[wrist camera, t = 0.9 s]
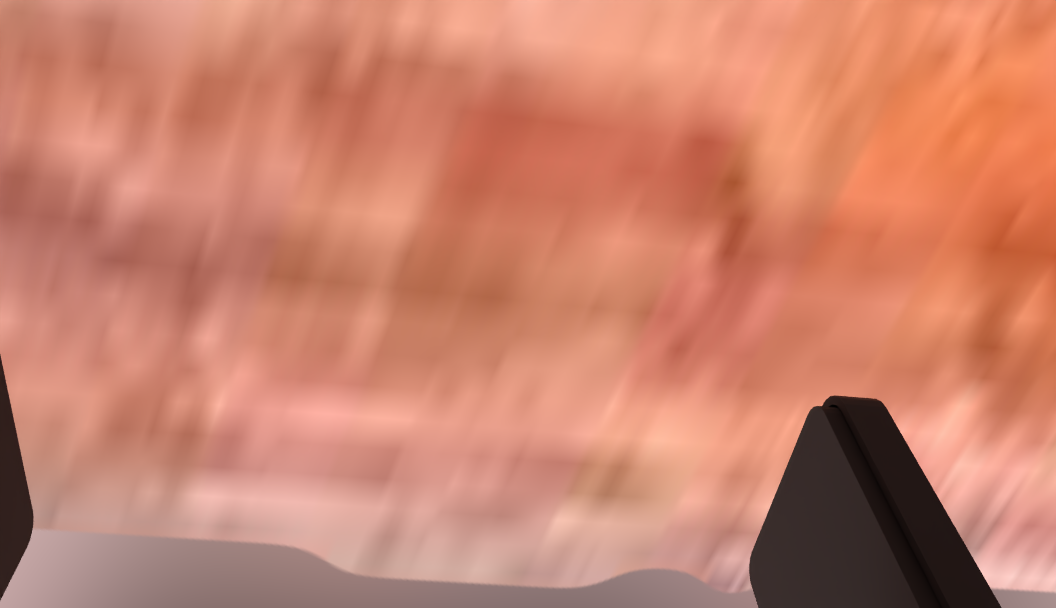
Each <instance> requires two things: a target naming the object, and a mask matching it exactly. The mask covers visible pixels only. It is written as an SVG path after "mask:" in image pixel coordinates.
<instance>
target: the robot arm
mask: <svg viewBox="0 0 1056 608" xmlns="http://www.w3.org/2000/svg"><path fill="white" fill-rule="evenodd" d="M32 529H33V510H32V505H31V500H30V495H29V490H28V486H27V481H26V476H25V471H24V466H23V462H22V457H21V452H20V447H19V442H18V438H17V433H16V428H15V423H14V418H13V414H12V409H11V404H10V399H9V394H8V390H7V385H6V380H5V375H4V371H3V366H2V361H1V356H0V600H1V598H2V596H3V594H4V592H5V590H6V588H7V586H8V584H9V582H10V580H11V578H12V576H13V574H14V572H15V570H16V568H17V566H18V564H19V562H20V560H21V558H22V556H23V554H24V552H25V550H26V548H27V546H28V543H29V541H30V538H31V534H32ZM749 573H750V581H751V585H752V588H753V591H754V594H755V598H756V601H757V604H758V607H759V608H1001V606H1000V604H999V603H998V601H997V599H996V597H995V596H994V594H993V592H992V590H991V589H990V587H989V585H988V583H987V582H986V580H985V578H984V577H983V575H982V573H981V571H980V570H979V568H978V566H977V564H976V563H975V561H974V559H973V557H972V556H971V554H970V552H969V551H968V549H967V547H966V545H965V544H964V542H963V540H962V538H961V537H960V535H959V533H958V531H957V530H956V528H955V526H954V525H953V523H952V521H951V519H950V518H949V516H948V514H947V512H946V511H945V509H944V507H943V505H942V504H941V502H940V500H939V499H938V497H937V495H936V493H935V492H934V490H933V488H932V486H931V485H930V483H929V481H928V479H927V478H926V476H925V474H924V472H923V471H922V469H921V467H920V466H919V464H918V462H917V460H916V459H915V457H914V455H913V453H912V452H911V450H910V448H909V446H908V445H907V443H906V441H905V440H904V438H903V436H902V434H901V433H900V431H899V429H898V427H897V426H896V424H895V422H894V420H893V419H892V417H891V415H890V414H889V412H888V410H887V408H886V407H885V406H884V404H883V403H882V402H881V401H879V400H877V399H871V398H858V397H846V396H830V397H829V398H828V399H827V400H826V401H825V402H824V404H823V406H816V407H813V408H812V409H811V410H810V412H809V414H808V416H807V418H806V421H805V423H804V426H803V428H802V430H801V433H800V435H799V438H798V440H797V443H796V445H795V448H794V450H793V453H792V455H791V457H790V460H789V462H788V465H787V467H786V470H785V472H784V475H783V477H782V480H781V482H780V484H779V487H778V489H777V492H776V494H775V497H774V499H773V502H772V504H771V507H770V509H769V511H768V514H767V516H766V519H765V521H764V524H763V526H762V529H761V531H760V534H759V536H758V538H757V541H756V543H755V546H754V548H753V551H752V554H751V557H750V564H749Z"/></svg>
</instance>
